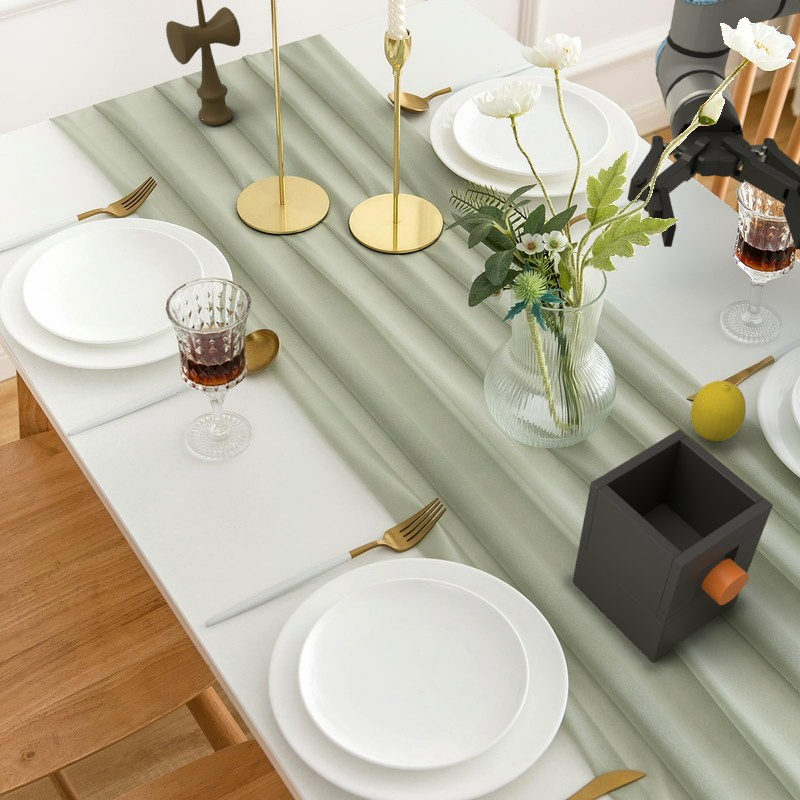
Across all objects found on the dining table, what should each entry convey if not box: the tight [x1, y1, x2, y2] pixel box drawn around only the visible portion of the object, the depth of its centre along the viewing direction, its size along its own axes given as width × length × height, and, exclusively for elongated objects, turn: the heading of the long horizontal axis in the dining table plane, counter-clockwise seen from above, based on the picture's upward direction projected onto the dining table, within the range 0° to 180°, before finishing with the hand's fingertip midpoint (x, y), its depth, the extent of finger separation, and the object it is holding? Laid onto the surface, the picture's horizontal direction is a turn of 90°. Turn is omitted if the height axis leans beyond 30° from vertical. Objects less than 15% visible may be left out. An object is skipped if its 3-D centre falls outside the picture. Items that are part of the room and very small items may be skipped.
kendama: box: [165, 0, 241, 126], centre depth 158 cm, size 6×10×20 cm, turn 124°
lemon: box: [690, 380, 747, 442], centre depth 116 cm, size 6×6×8 cm
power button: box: [702, 559, 750, 605], centre depth 94 cm, size 2×4×4 cm, turn 125°
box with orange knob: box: [572, 428, 774, 663], centre depth 99 cm, size 11×11×15 cm
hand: (736, 238), depth 111 cm, fingers open, 13 cm apart
